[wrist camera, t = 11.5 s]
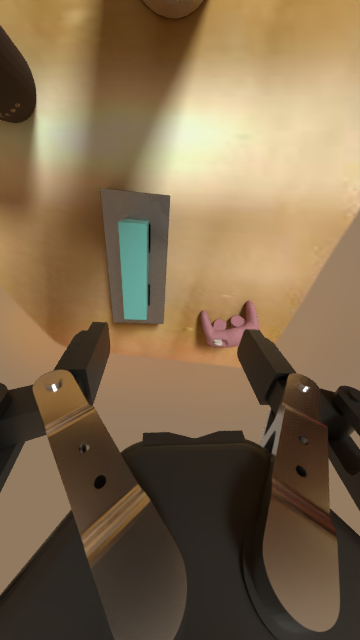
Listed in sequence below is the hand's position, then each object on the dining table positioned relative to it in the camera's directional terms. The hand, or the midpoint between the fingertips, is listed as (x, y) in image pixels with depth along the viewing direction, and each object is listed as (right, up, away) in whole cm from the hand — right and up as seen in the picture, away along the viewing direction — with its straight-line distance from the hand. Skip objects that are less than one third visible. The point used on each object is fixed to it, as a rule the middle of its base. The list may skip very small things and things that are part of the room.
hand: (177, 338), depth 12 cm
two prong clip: (-6, +10, +18) cm, 22 cm away
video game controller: (+9, +2, +26) cm, 27 cm away
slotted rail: (-6, +10, +19) cm, 22 cm away
